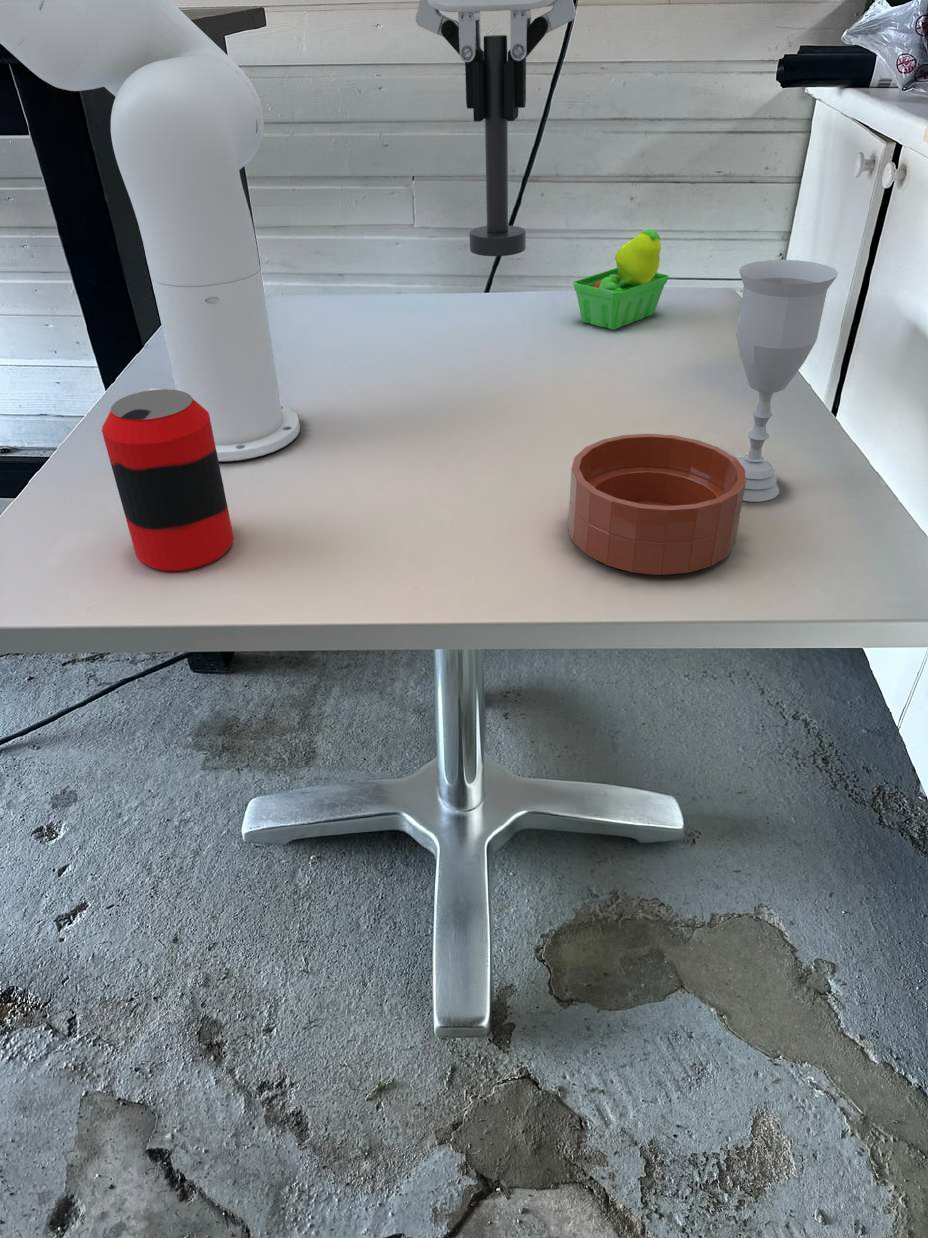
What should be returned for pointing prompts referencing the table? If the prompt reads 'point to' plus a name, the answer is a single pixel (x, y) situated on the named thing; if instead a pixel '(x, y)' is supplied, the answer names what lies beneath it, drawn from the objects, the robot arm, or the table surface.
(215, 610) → the table surface
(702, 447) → the bowl
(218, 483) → the soda can
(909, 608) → the table surface
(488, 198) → the upright rod on disc
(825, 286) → the chalice
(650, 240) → the fruit basket
